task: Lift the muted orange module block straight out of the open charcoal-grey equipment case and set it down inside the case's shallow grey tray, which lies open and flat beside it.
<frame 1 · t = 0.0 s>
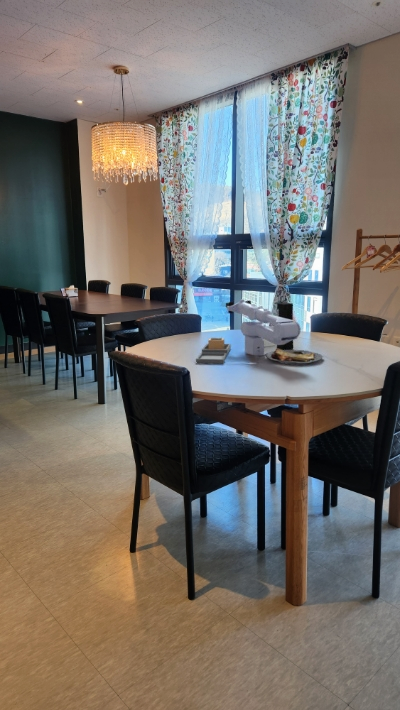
hand: (233, 304, 238), 22 cm above the table, tool horizontal, fingers open, 7 cm apart
portable radio: (285, 349, 235), on the table
food plate: (293, 360, 212), on the table
case: (216, 353, 229), on the table
shallow grey tray: (211, 360, 214), on the table
module: (216, 351, 228), point 1 cm above the table, touching case
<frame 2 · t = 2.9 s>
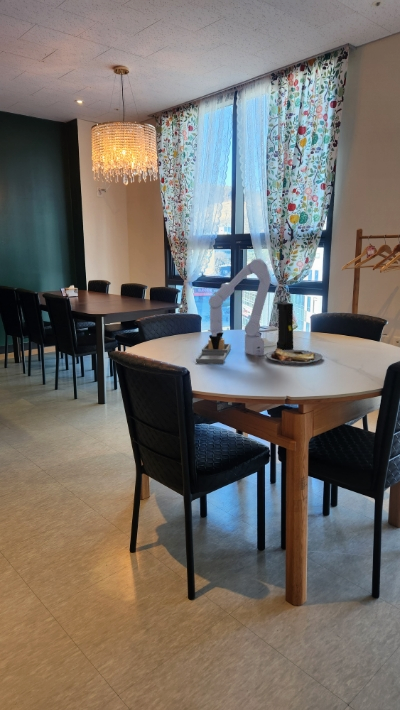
hand: (216, 348, 228), 2 cm above the table, tool pointing down, fingers closed on module, 5 cm apart
module: (216, 351, 228), point 1 cm above the table, touching case, gripper
everything else where it was.
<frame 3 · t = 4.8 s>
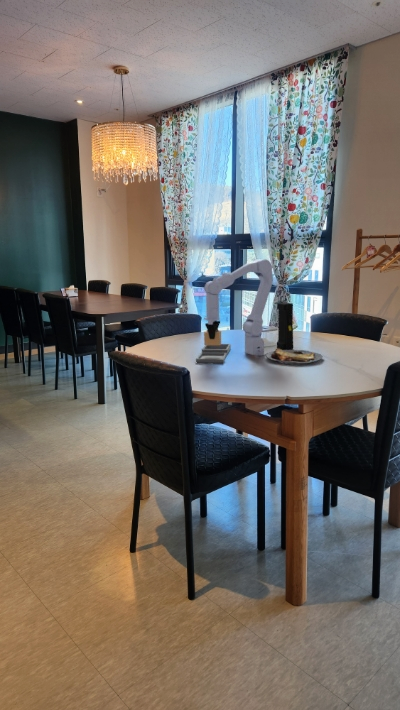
hand: (213, 337, 217), 9 cm above the table, tool pointing down, fingers closed on module, 5 cm apart
module: (212, 344, 218), point 6 cm above the table, touching gripper
everything else where it was.
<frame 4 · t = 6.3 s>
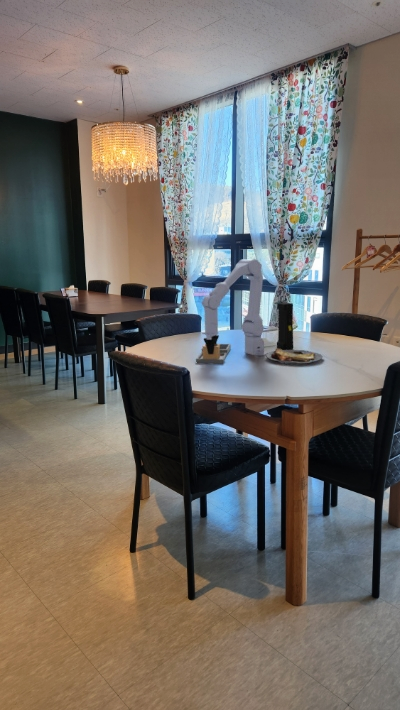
hand: (211, 352, 213), 3 cm above the table, tool pointing down, fingers closed on module, 5 cm apart
module: (211, 358, 214), point 1 cm above the table, touching gripper, shallow grey tray
everything else where it was.
when the fingers open (3 cm above the table, at t = 6.8 s): module stays where it is, resting on shallow grey tray.
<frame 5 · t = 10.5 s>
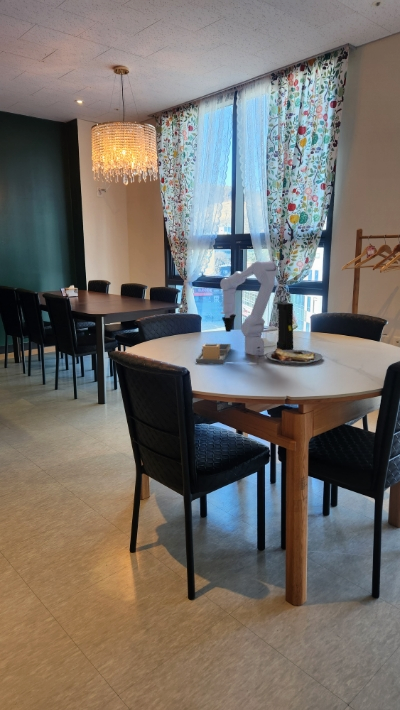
hand: (229, 330, 236), 9 cm above the table, tool pointing down, fingers open, 7 cm apart
module: (211, 358, 214), point 1 cm above the table, touching shallow grey tray
everything else where it was.
at the end: module inside the target area on the shallow grey tray (0.2 cm from its centre), point 0.8 cm above the shallow grey tray's base; module tilted 0°; the gripper is holding nothing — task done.
